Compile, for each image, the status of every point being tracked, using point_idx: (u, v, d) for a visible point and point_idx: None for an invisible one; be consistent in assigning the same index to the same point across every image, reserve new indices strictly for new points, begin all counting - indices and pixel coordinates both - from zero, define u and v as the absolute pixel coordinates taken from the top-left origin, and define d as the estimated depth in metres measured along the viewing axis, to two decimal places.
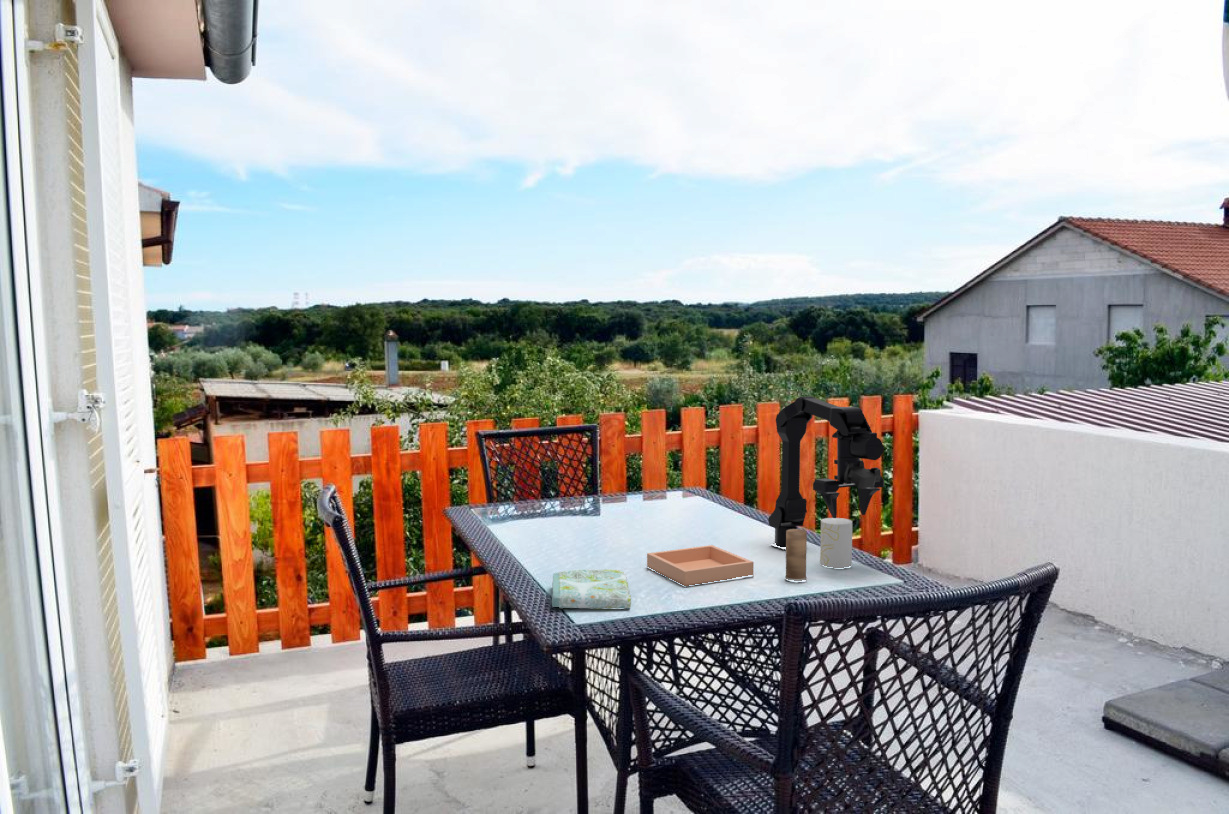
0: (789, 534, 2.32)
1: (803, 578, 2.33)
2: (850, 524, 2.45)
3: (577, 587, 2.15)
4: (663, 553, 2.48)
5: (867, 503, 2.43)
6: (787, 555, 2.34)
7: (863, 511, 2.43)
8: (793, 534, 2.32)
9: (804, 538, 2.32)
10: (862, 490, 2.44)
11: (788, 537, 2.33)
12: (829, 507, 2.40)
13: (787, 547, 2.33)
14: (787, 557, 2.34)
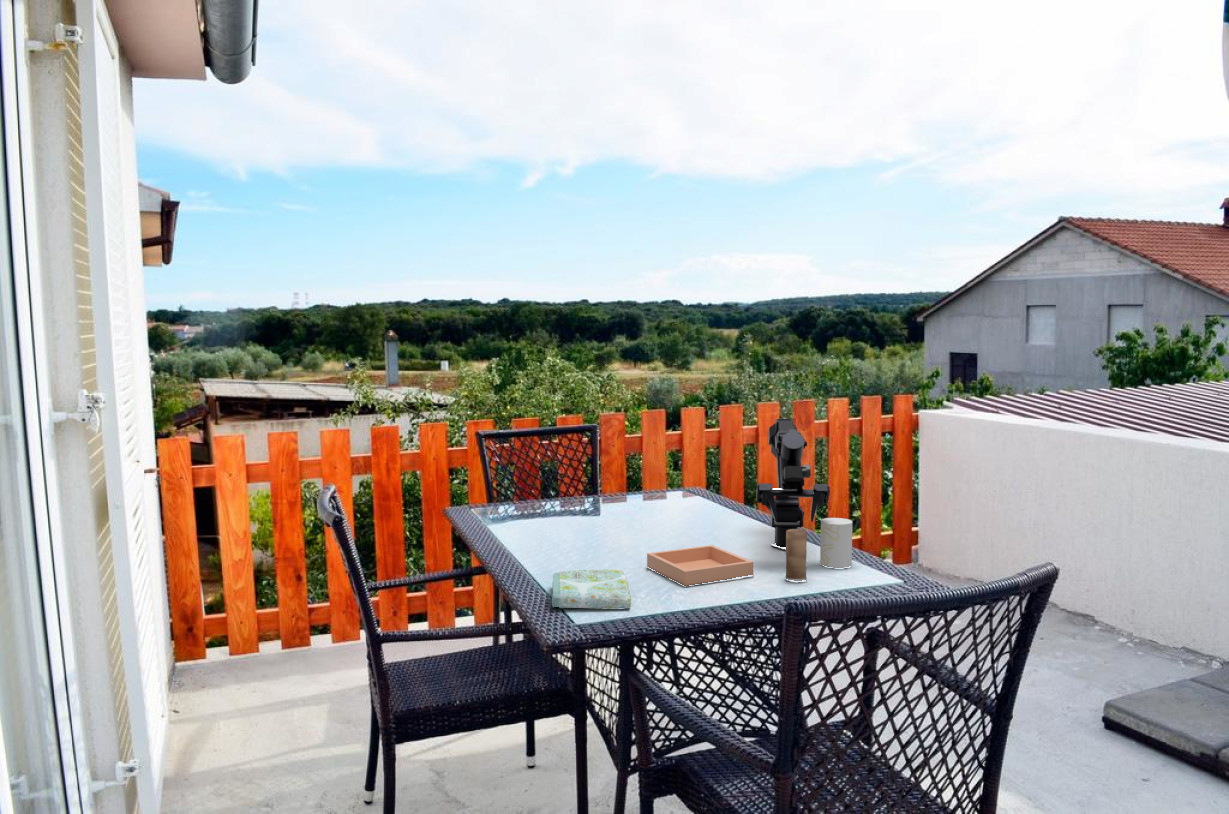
0: (789, 534, 2.32)
1: (803, 578, 2.33)
2: (850, 524, 2.45)
3: (577, 587, 2.15)
4: (663, 553, 2.48)
5: (813, 508, 2.42)
6: (787, 555, 2.34)
7: (811, 517, 2.42)
8: (793, 534, 2.32)
9: (804, 538, 2.32)
10: None
11: (788, 537, 2.33)
12: (771, 512, 2.44)
13: (787, 547, 2.33)
14: (787, 557, 2.34)
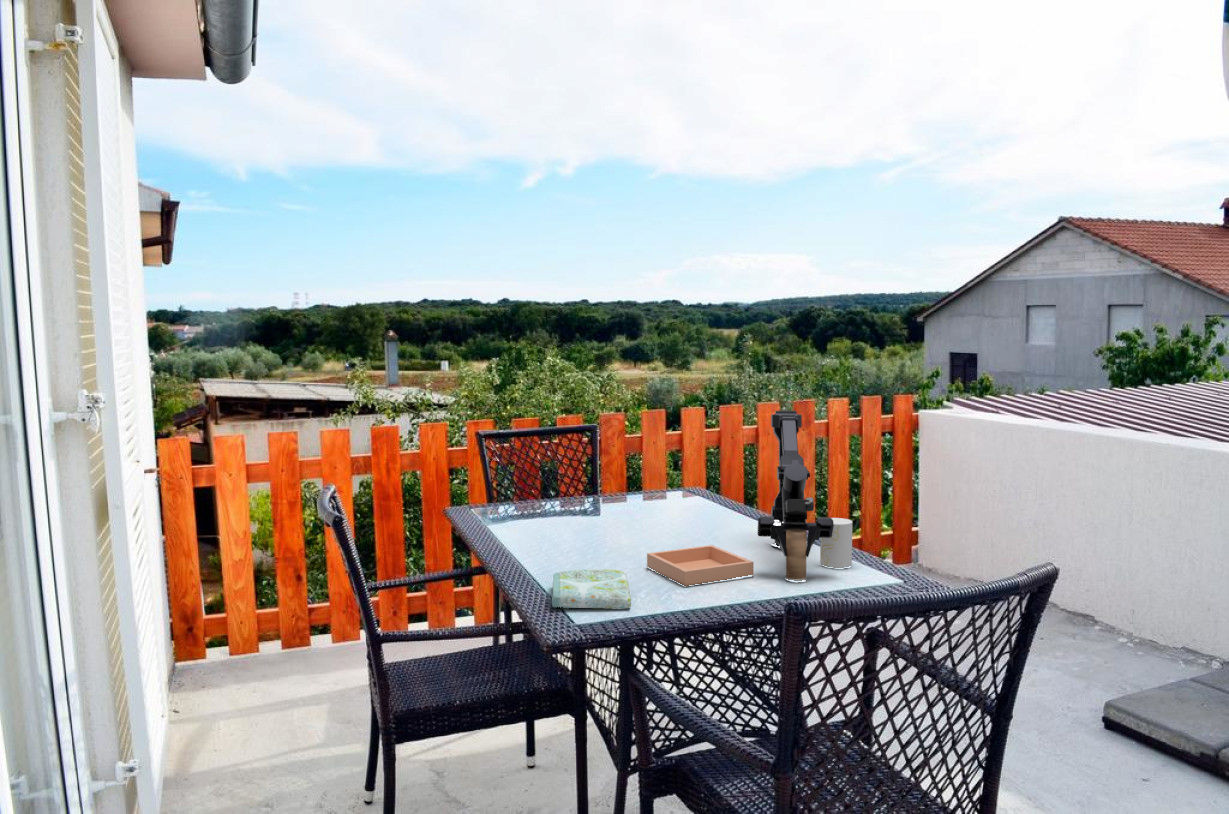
0: (789, 534, 2.32)
1: (803, 578, 2.33)
2: (850, 524, 2.45)
3: (577, 587, 2.15)
4: (663, 553, 2.48)
5: (809, 543, 2.34)
6: (787, 555, 2.34)
7: (806, 552, 2.33)
8: (793, 534, 2.32)
9: (804, 538, 2.32)
10: None
11: (788, 537, 2.33)
12: (781, 547, 2.36)
13: (787, 547, 2.33)
14: (787, 557, 2.34)
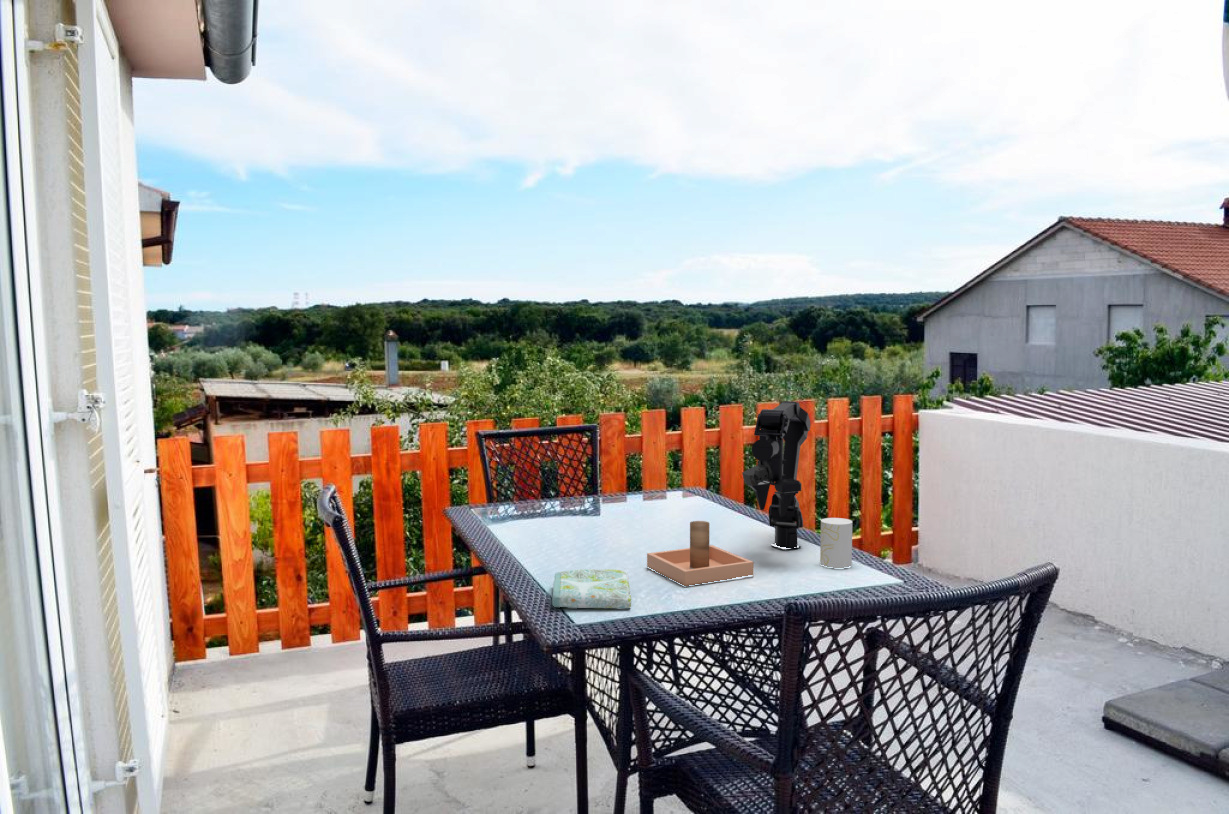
0: (690, 524, 2.41)
1: None
2: (850, 524, 2.45)
3: (578, 587, 2.15)
4: (663, 553, 2.48)
5: (779, 505, 2.48)
6: None
7: None
8: (691, 524, 2.40)
9: (700, 529, 2.39)
10: None
11: None
12: None
13: None
14: None
